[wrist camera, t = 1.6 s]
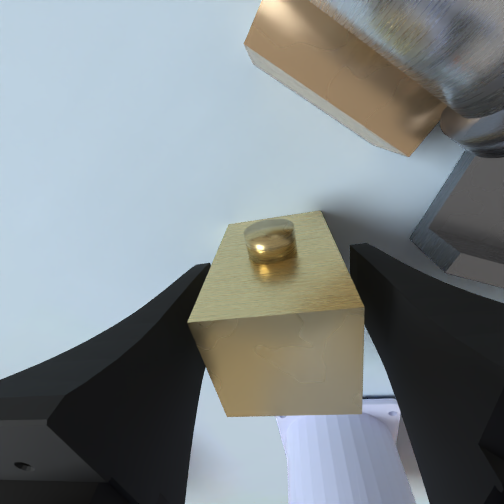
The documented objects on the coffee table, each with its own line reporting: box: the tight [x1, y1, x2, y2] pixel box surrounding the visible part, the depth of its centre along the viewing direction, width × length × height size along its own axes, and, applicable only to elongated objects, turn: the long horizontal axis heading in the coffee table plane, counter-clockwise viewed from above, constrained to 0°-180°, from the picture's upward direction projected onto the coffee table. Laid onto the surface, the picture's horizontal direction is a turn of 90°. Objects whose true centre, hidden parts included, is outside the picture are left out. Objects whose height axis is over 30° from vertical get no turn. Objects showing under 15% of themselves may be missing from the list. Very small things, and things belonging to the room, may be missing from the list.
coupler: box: [187, 211, 365, 417], centre depth 9 cm, size 6×4×6 cm
